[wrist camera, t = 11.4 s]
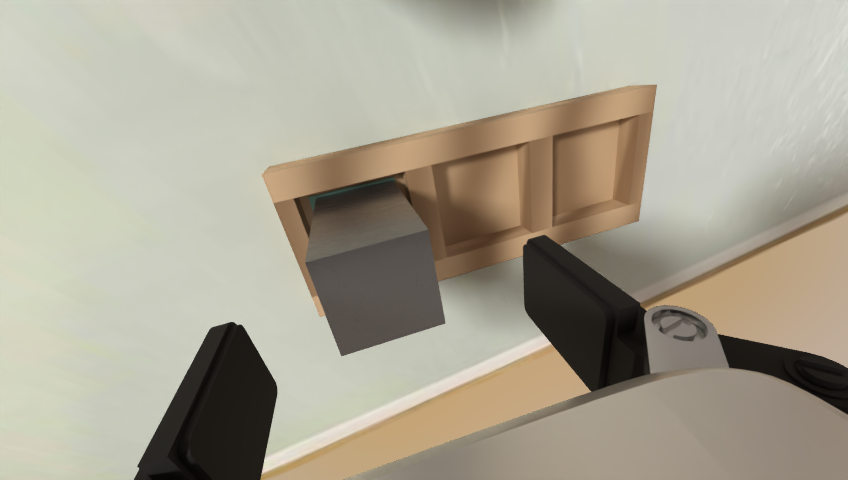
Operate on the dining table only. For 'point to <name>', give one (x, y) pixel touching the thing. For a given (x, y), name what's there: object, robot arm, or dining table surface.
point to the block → (372, 267)
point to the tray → (492, 178)
